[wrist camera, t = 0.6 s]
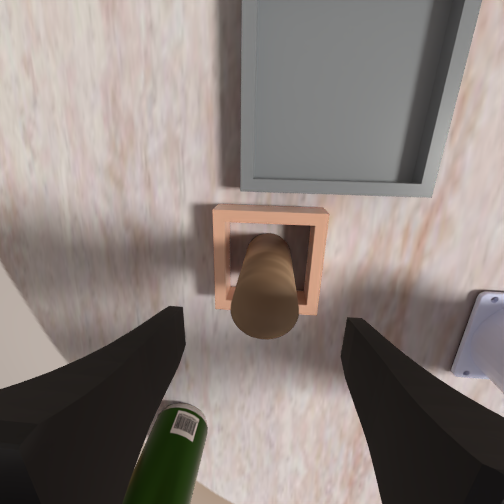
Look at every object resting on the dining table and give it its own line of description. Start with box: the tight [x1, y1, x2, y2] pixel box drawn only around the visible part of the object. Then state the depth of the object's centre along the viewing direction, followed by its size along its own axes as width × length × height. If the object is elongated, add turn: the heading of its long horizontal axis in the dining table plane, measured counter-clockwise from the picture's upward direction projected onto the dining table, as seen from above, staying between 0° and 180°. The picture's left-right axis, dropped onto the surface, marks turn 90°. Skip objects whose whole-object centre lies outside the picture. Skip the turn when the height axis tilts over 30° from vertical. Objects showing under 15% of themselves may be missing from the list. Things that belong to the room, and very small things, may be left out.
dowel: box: [231, 233, 299, 339], centre depth 17 cm, size 3×3×8 cm
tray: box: [240, 0, 482, 198], centre depth 16 cm, size 12×12×2 cm
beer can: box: [122, 403, 208, 504], centre depth 22 cm, size 5×5×12 cm
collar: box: [213, 204, 329, 315], centre depth 20 cm, size 8×8×2 cm
